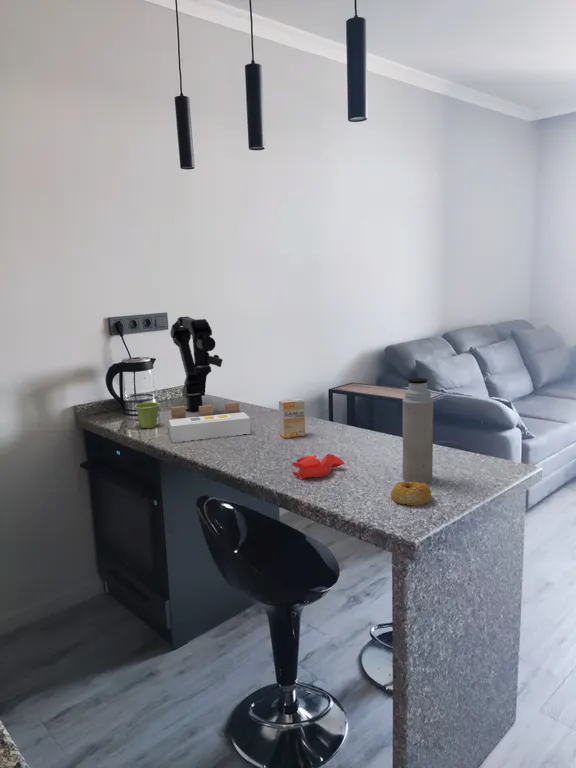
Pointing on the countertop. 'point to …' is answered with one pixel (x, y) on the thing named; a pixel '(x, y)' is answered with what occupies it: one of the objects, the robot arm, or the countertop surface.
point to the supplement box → (292, 418)
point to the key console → (209, 427)
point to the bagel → (411, 493)
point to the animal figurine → (316, 466)
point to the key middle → (205, 410)
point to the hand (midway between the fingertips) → (203, 388)
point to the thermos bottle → (417, 432)
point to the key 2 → (232, 408)
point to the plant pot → (147, 414)
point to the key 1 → (178, 412)
